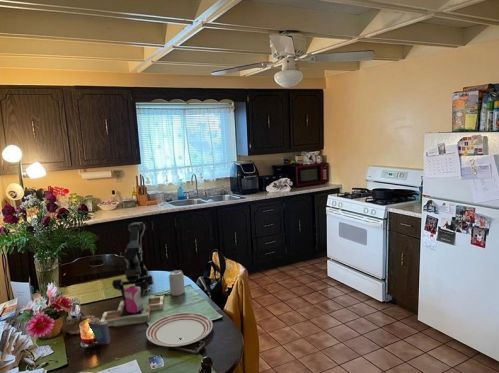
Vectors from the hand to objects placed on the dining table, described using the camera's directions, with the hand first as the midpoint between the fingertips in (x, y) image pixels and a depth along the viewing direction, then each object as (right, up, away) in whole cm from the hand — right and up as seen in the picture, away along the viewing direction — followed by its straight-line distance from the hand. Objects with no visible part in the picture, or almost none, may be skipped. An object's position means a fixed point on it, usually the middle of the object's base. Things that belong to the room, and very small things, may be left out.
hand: (133, 298), depth 179 cm
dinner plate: (+27, -9, -22) cm, 36 cm away
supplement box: (0, -7, +2) cm, 7 cm away
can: (+18, -3, +19) cm, 26 cm away
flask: (-6, -11, -25) cm, 28 cm away
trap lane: (+1, -7, 0) cm, 7 cm away
